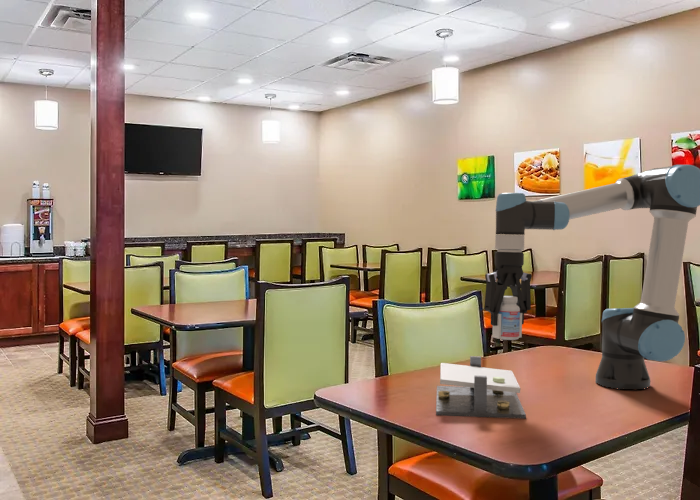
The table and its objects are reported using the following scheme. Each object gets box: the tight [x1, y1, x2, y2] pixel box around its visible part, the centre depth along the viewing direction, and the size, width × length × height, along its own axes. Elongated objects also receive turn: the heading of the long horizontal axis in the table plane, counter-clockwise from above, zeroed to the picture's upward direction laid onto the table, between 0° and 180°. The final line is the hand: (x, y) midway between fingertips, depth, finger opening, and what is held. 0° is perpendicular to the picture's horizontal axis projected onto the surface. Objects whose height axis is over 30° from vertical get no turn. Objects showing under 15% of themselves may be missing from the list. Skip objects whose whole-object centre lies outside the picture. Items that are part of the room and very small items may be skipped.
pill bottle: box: [498, 295, 520, 341], centre depth 171 cm, size 6×6×11 cm
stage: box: [439, 362, 521, 394], centre depth 173 cm, size 20×22×2 cm
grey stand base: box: [435, 355, 527, 419], centre depth 173 cm, size 22×26×10 cm
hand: (506, 337), depth 172 cm, fingers closed on pill bottle, 6 cm apart
